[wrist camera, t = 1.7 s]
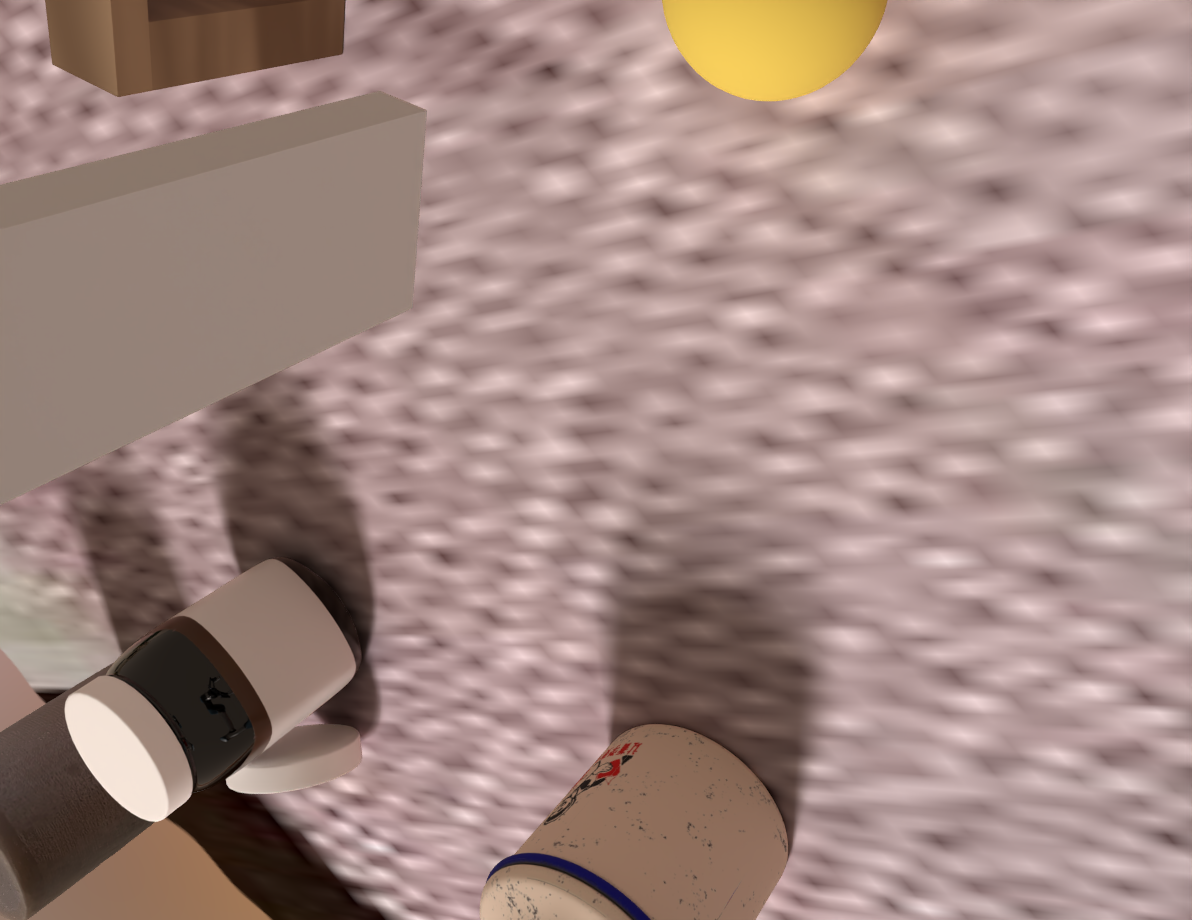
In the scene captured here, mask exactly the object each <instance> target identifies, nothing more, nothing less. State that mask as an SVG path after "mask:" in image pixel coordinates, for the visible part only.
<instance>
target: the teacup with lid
mask: <svg viewBox="0 0 1192 920" xmlns="http://www.w3.org/2000/svg"><path fill="white" fill-rule="evenodd" d="M787 857H788V839H787V833H786V829H785V825H784V822H783V819H782V817H781V814H780V812H779V810H778V808H777V805H776V804H775V802H774V800H773V798H772V797H771V795H770V794H769V792H768V790H767V789H766V788H765V786H764V785H763V784H762V782H761V781H760V780H759V779H758V778H757V776H756V775H755V774H754V773H753V772H752V771H751V770H750V769H749V768H748V767H747V766H746V765H745V764H744V763H743V762H742V761H741V760H739V759H738V758H737V757H736V756H735V755H733V754H732V753H731V752H730V751H728V750H727V749H725V748H724V747H722V746H721V745H719V744H718V743H716V742H714V741H712V740H711V739H709V738H707V737H705V736H703V735H701V734H698V733H696V732H693V731H691V730H688V729H685V728H681V727H677V726H672V725H664V724H648V725H642V726H638V727H635V728H632V729H630V730H628V731H626V732H624V733H623V734H621V735H620V736H619V737H617V738H616V739H615V740H614V741H613V742H612V744H611V745H610V746H609V747H608V748H607V749H606V750H605V752H604V753H603V754H602V755H601V756H600V757H599V758H598V760H597V761H596V762H595V763H594V764H593V765H592V766H591V767H590V769H589V770H588V771H587V772H586V773H585V774H584V775H583V777H582V778H581V779H580V780H579V781H578V782H577V783H576V785H575V786H574V787H573V788H572V789H571V790H570V791H569V793H568V794H567V795H566V796H565V797H564V798H563V799H562V801H561V802H560V803H559V804H558V805H557V806H556V807H555V809H554V810H553V811H552V812H551V813H550V814H549V815H548V817H547V818H546V819H545V820H544V821H543V822H542V823H541V825H540V826H539V827H538V828H537V829H536V830H535V831H534V833H533V834H532V835H531V836H530V837H529V838H528V839H527V841H526V842H525V843H524V844H523V845H522V846H521V847H520V849H519V850H518V851H517V852H516V853H515V854H514V855H512V856H510V857H507V858H505V859H503V860H502V861H500V862H499V863H498V864H497V865H496V866H495V867H494V868H493V870H492V871H491V872H490V874H489V876H488V878H487V881H486V885H485V886H484V889H483V892H482V896H481V902H480V920H756V918H757V916H758V915H759V913H760V911H761V910H762V908H763V906H764V904H765V903H766V901H767V899H768V898H769V896H770V894H771V893H772V891H773V889H774V888H775V886H776V884H777V883H778V881H779V879H780V878H781V876H782V874H783V872H784V869H785V867H786V863H787Z"/></svg>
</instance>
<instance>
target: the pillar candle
mask: <svg viewBox="0 0 1192 920" xmlns="http://www.w3.org/2000/svg"><path fill="white" fill-rule="evenodd" d="M112 665H113V663H112V664H111V665H109V666H107V667H106V668H104V669H102V670H101V671H99V672H97V673H95V674H94V675H92V676H91V677H89V678H87V679H86V680H84V681H82V682H81V683H79V684H77V685H76V686H74V687H73V688H71V689H69V690H68V691H66V692H64V693H63V694H61V695H60V696H58V697H56V698H55V699H53V700H52V701H50V702H48V703H47V704H45V705H43V706H42V707H40V708H39V709H37V710H36V711H34V712H32V713H31V714H29V715H27V716H26V717H24V718H23V719H21V720H19V721H18V722H16V723H15V724H13V725H11V726H10V727H8V728H6V729H5V730H3V731H2V732H0V915H2V916H3V917H4V918H6V919H8V920H27V919H29V918H30V917H31V916H33V915H34V914H36V913H37V912H38V911H39V910H41V909H42V908H43V907H45V906H46V905H47V904H49V903H50V902H51V901H53V900H54V899H55V898H57V897H58V896H60V895H61V894H62V893H63V892H65V891H66V890H67V889H69V888H70V887H71V886H73V885H74V884H75V883H76V882H78V881H79V880H80V879H82V878H83V877H84V876H85V875H87V874H88V873H90V872H91V871H92V870H94V869H95V868H96V867H97V866H99V865H100V863H102V862H103V861H105V860H106V859H108V858H109V857H110V856H112V855H113V854H115V853H116V852H117V851H118V850H120V849H121V848H122V847H124V846H125V845H126V844H127V843H128V842H130V841H131V840H132V839H134V838H135V837H136V836H138V835H139V834H140V833H141V832H143V831H144V830H145V829H146V828H148V827H149V826H151V825H152V824H153V823H154V821H147V820H144V819H142V818H139V817H138V816H136V815H134V814H132V813H131V812H130V811H128V810H127V809H125V808H124V807H123V806H122V805H120V804H119V803H118V802H117V801H116V800H115V799H114V798H113V797H112V796H111V795H110V794H109V793H108V792H107V791H106V790H105V789H104V788H103V787H102V785H101V784H100V783H99V782H98V780H97V779H96V778H95V777H94V775H93V774H92V773H91V771H90V770H89V768H88V767H87V765H86V764H85V762H84V761H83V759H82V757H81V756H80V754H79V752H78V750H77V748H76V746H75V744H74V742H73V740H72V738H71V735H70V732H69V730H68V726H67V723H66V719H65V702H66V700H67V698H68V696H69V695H70V694H72V693H74V692H75V691H77V690H78V689H80V688H81V687H83V686H85V685H86V684H88V683H89V682H91V681H92V680H94V679H95V678H97V677H99V676H105V675H106V674H107V672H108V670H109V669H110V667H111V666H112ZM191 794H192V793H191Z"/></svg>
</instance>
